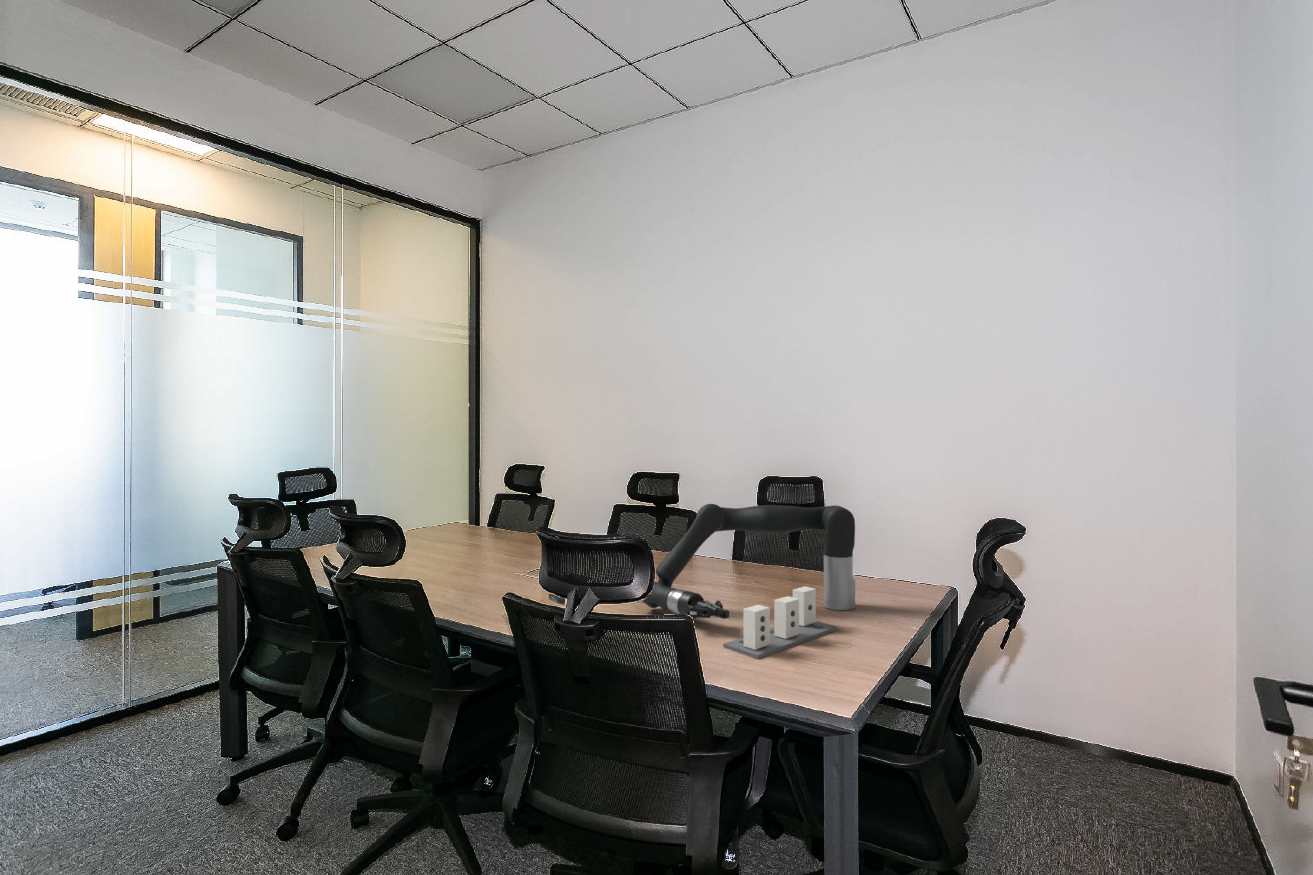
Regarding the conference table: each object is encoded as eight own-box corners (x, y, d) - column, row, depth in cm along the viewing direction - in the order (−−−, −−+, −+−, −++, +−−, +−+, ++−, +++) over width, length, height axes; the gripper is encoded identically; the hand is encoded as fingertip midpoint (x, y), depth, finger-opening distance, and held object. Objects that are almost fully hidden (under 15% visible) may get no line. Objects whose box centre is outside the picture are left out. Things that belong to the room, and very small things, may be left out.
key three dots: (743, 645, 175) (743, 608, 174) (758, 640, 179) (758, 604, 178) (755, 649, 171) (755, 612, 171) (770, 644, 175) (770, 607, 175)
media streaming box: (601, 600, 227) (601, 591, 227) (564, 607, 218) (564, 598, 218) (581, 591, 239) (581, 583, 239) (545, 597, 230) (544, 589, 230)
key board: (723, 647, 177) (723, 643, 177) (803, 620, 201) (803, 616, 201) (757, 659, 168) (757, 654, 168) (837, 629, 192) (837, 625, 192)
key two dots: (774, 635, 183) (774, 599, 183) (787, 630, 187) (787, 596, 187) (786, 639, 180) (786, 603, 180) (799, 634, 184) (799, 599, 184)
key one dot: (792, 623, 194) (792, 589, 194) (804, 619, 198) (804, 586, 198) (804, 626, 191) (804, 592, 191) (816, 622, 195) (816, 588, 195)
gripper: (669, 594, 195) (711, 606, 182) (700, 587, 204) (742, 597, 191) (669, 619, 195) (711, 633, 182) (700, 610, 204) (743, 622, 191)
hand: (727, 614), depth 186 cm, fingers closed
